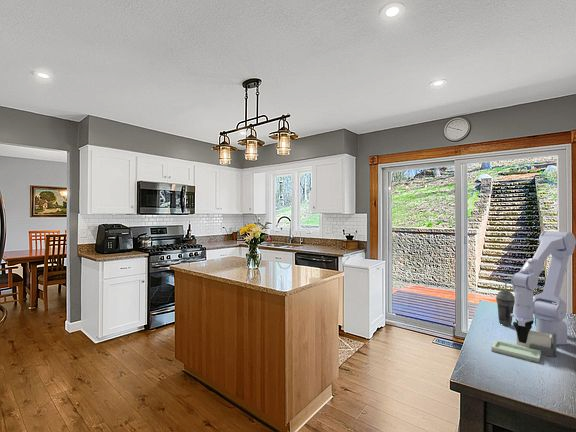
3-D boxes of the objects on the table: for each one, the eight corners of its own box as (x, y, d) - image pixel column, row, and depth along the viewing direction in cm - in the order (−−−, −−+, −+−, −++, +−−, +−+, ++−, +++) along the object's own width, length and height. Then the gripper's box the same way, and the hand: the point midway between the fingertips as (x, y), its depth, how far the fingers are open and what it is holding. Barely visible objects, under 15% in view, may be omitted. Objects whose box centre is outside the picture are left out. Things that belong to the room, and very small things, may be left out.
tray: (540, 354, 111) (541, 350, 111) (539, 363, 104) (539, 358, 104) (495, 343, 120) (495, 340, 120) (491, 350, 114) (491, 346, 114)
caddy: (551, 350, 115) (551, 334, 115) (551, 355, 111) (551, 338, 111) (518, 343, 121) (518, 327, 121) (516, 347, 118) (516, 331, 118)
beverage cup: (514, 323, 143) (514, 280, 143) (515, 328, 137) (516, 283, 137) (495, 320, 147) (495, 278, 147) (495, 325, 141) (496, 281, 141)
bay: (556, 350, 115) (556, 328, 115) (555, 357, 109) (556, 334, 109) (531, 344, 120) (531, 323, 120) (529, 350, 114) (529, 329, 114)
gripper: (513, 299, 126) (512, 332, 126) (508, 306, 116) (507, 342, 116) (535, 302, 122) (535, 337, 122) (532, 310, 111) (531, 348, 111)
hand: (523, 340), depth 118 cm, fingers open, 5 cm apart
